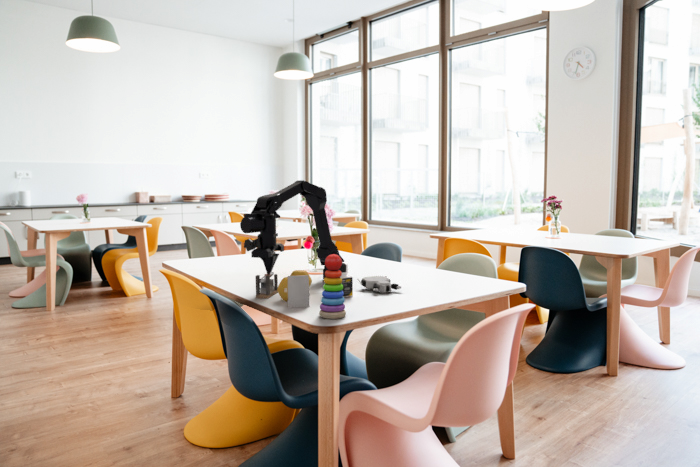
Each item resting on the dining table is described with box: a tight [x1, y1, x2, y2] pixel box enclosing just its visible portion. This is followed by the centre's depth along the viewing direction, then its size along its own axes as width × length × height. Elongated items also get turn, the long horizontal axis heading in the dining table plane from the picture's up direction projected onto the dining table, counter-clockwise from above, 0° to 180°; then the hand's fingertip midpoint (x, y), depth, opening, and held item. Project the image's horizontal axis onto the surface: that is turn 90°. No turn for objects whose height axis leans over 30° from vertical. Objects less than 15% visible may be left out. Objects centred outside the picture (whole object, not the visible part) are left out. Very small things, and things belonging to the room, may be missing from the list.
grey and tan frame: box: [255, 273, 279, 299], centre depth 185 cm, size 11×5×8 cm, turn 170°
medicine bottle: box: [339, 261, 354, 298], centre depth 184 cm, size 7×7×12 cm
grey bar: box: [259, 271, 275, 284], centre depth 185 cm, size 10×2×1 cm, turn 170°
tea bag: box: [287, 274, 311, 309], centre depth 168 cm, size 4×7×10 cm, turn 100°
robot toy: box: [357, 275, 402, 294], centre depth 193 cm, size 12×4×15 cm
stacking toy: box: [318, 254, 347, 320], centre depth 154 cm, size 8×8×19 cm
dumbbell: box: [277, 269, 313, 302], centre depth 184 cm, size 19×9×8 cm, turn 172°
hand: (268, 273), depth 188 cm, fingers closed, pressing on grey bar
